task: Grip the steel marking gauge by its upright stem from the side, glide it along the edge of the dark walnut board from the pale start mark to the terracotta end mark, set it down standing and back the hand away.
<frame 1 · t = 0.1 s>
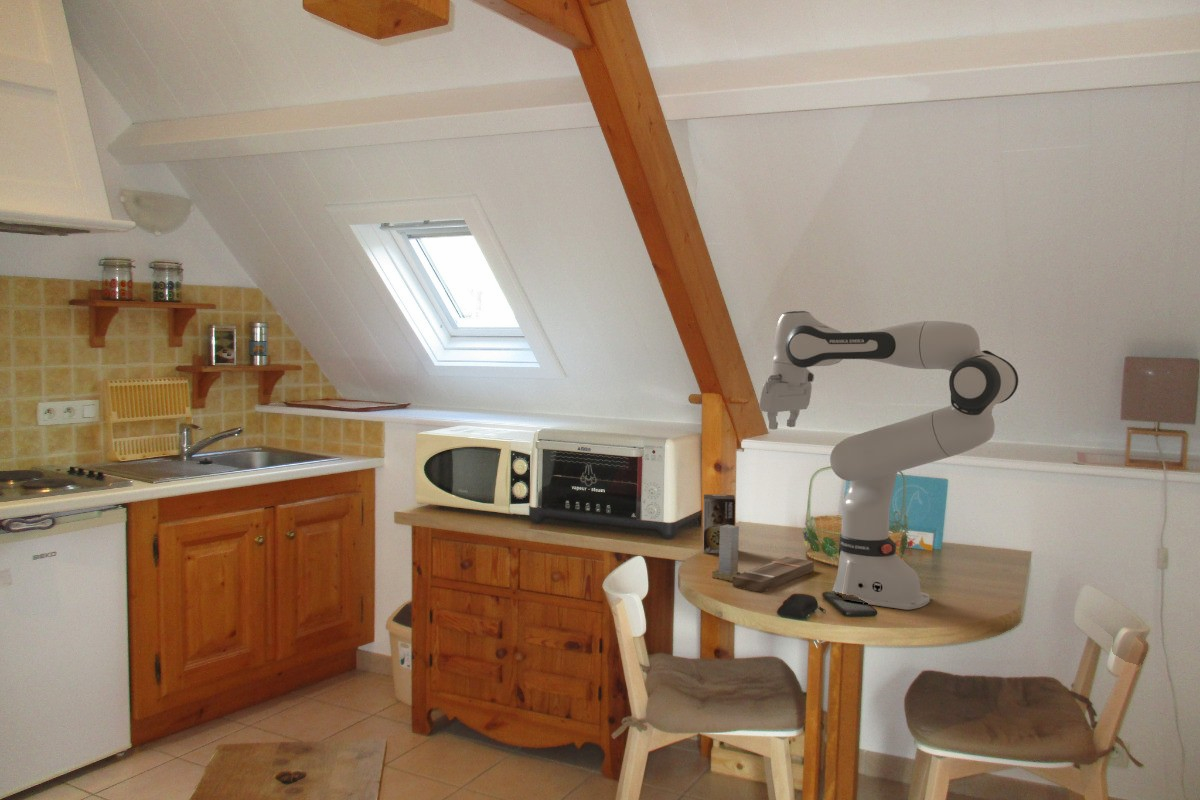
hand: (781, 427, 239), 39 cm above the table, tool pointing down, fingers open, 8 cm apart
coffee box: (718, 552, 269), on the table
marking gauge: (728, 578, 239), on the table
walnut board: (774, 578, 240), on the table
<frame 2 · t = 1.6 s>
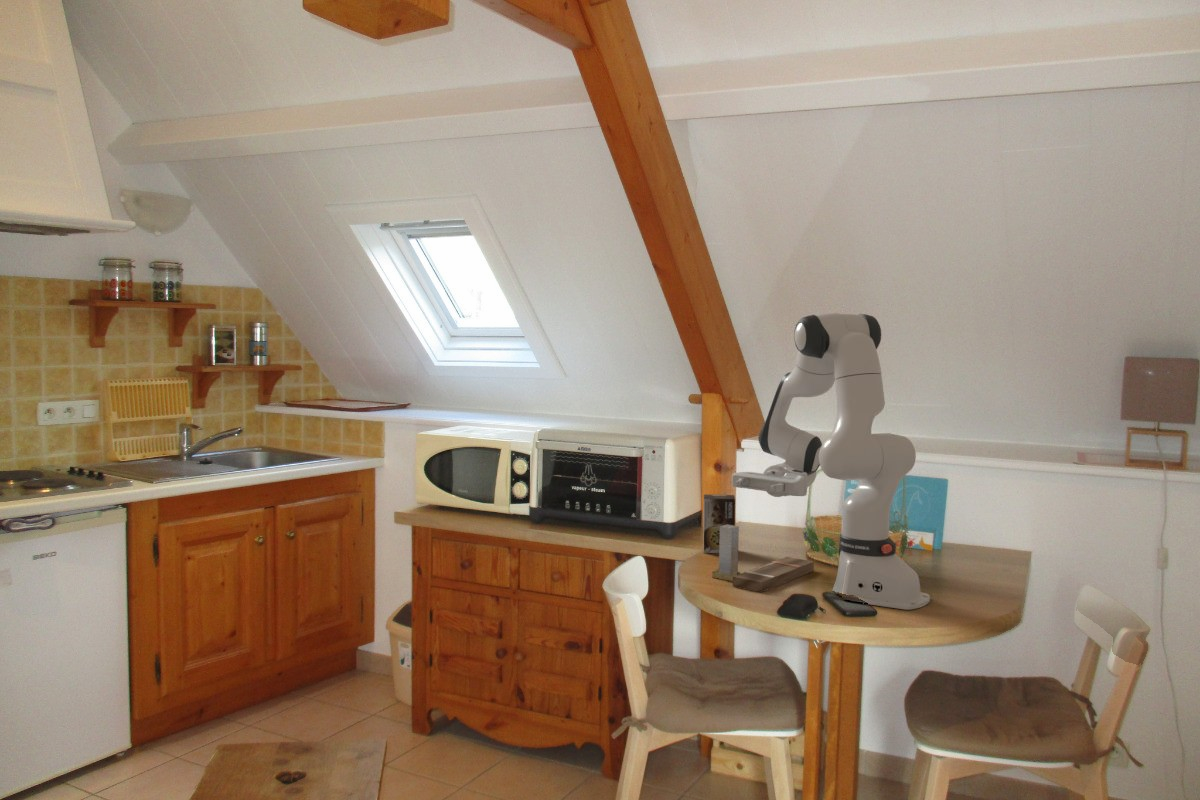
hand: (753, 486, 247), 22 cm above the table, tool horizontal, fingers open, 8 cm apart
nothing on the table moved.
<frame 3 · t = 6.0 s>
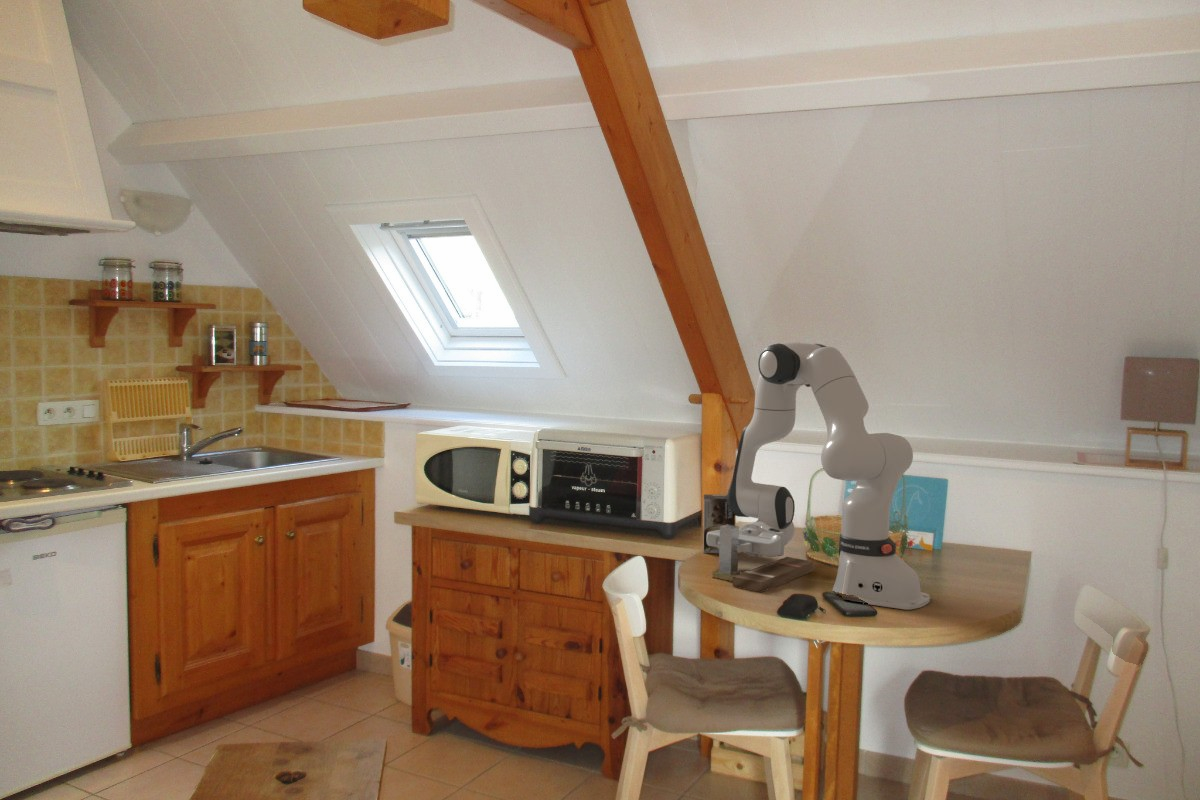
hand: (728, 547, 238), 8 cm above the table, tool horizontal, fingers closed on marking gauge, 3 cm apart
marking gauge: (728, 578, 239), on the table, touching gripper
everything else where it was.
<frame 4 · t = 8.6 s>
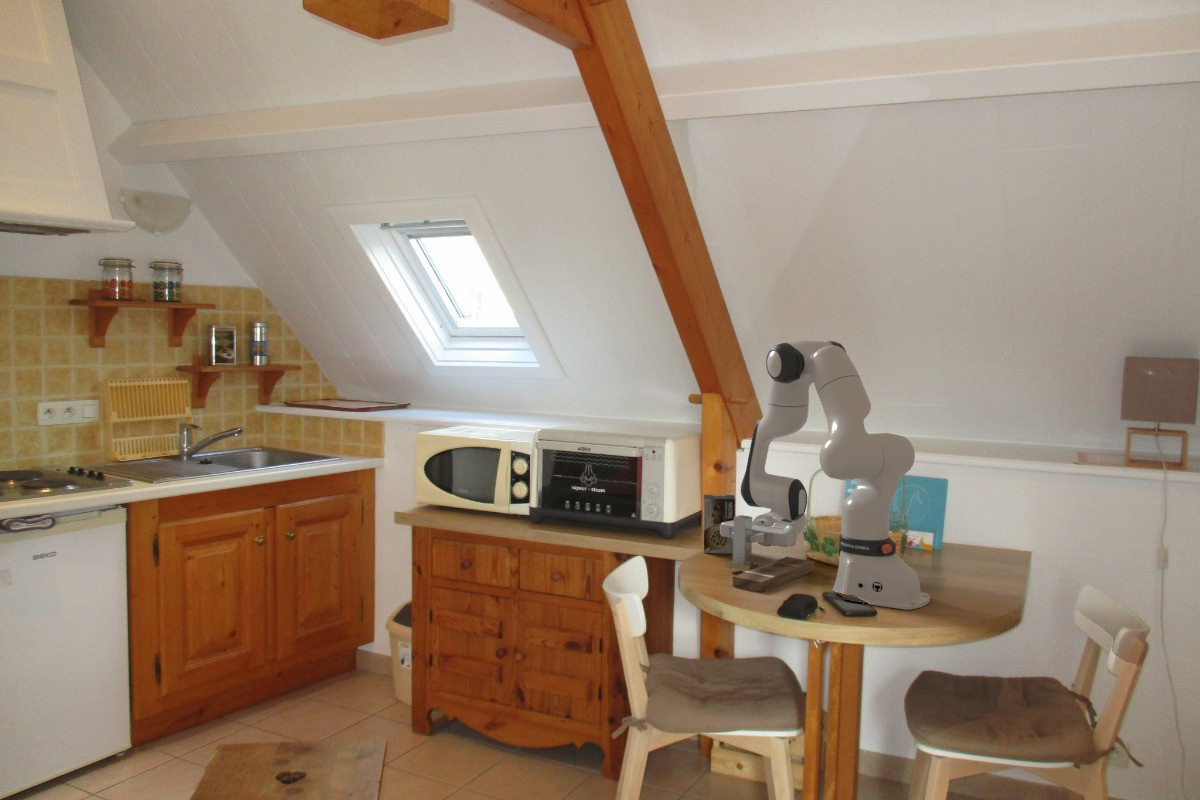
hand: (741, 537, 244), 9 cm above the table, tool horizontal, fingers closed on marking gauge, 3 cm apart
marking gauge: (741, 567, 245), point 1 cm above the table, touching gripper
everything else where it was.
when the fingers open (9 cm above the table, at t = 10.9 s): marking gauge stays where it is, on the table.
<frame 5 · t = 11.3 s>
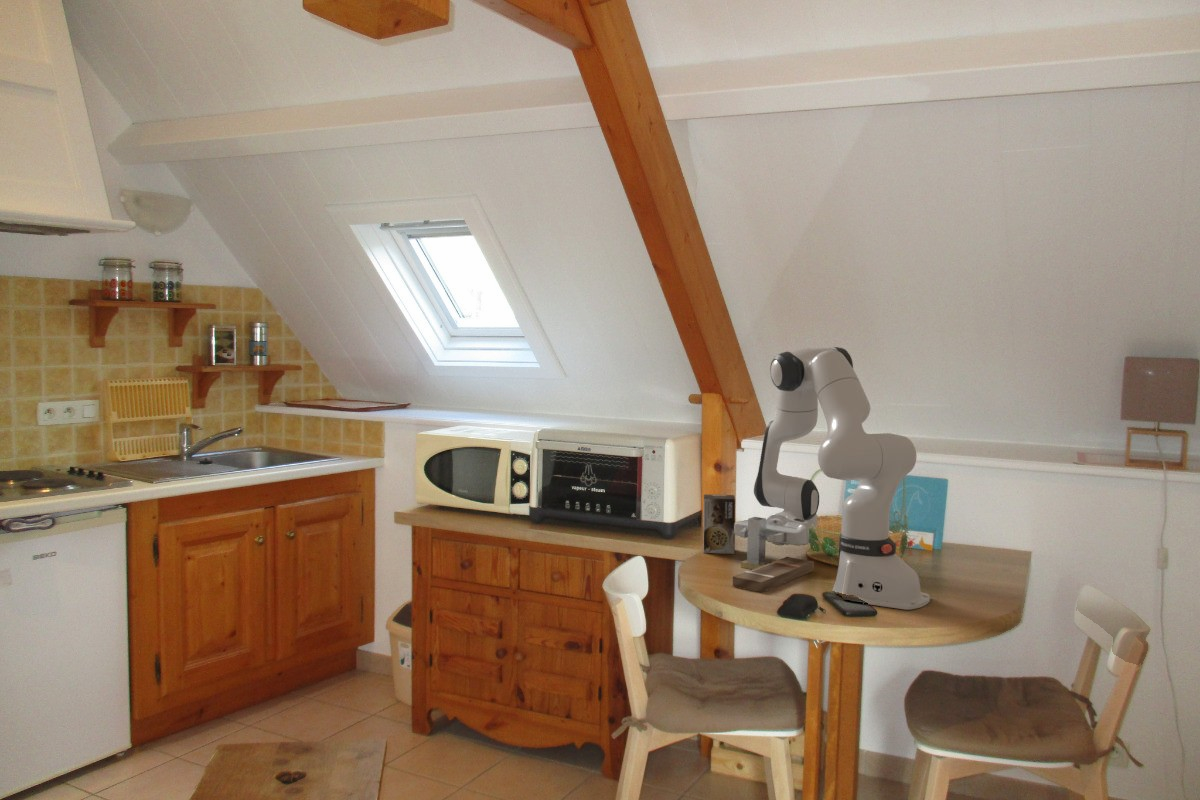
hand: (755, 536, 249), 9 cm above the table, tool horizontal, fingers open, 7 cm apart
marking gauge: (755, 568, 250), on the table
everything else where it was.
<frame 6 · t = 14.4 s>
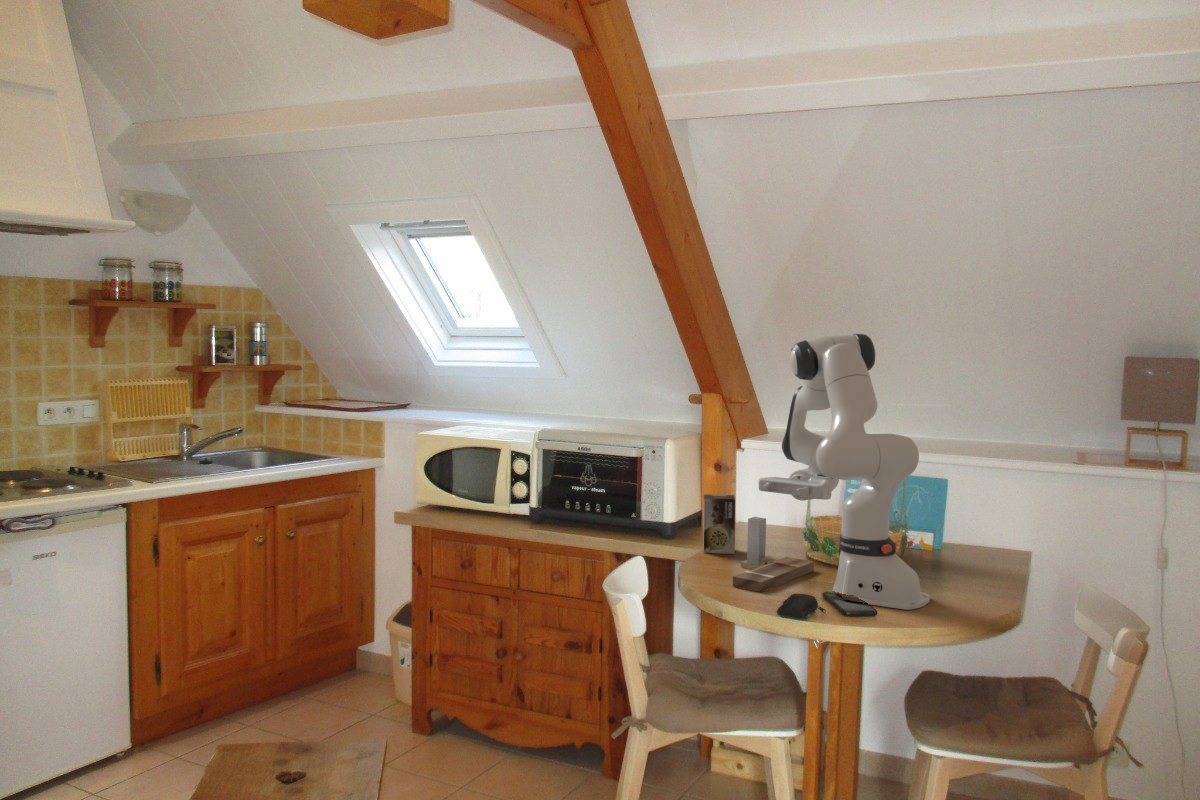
hand: (780, 490, 258), 20 cm above the table, tool horizontal, fingers open, 8 cm apart
nothing on the table moved.
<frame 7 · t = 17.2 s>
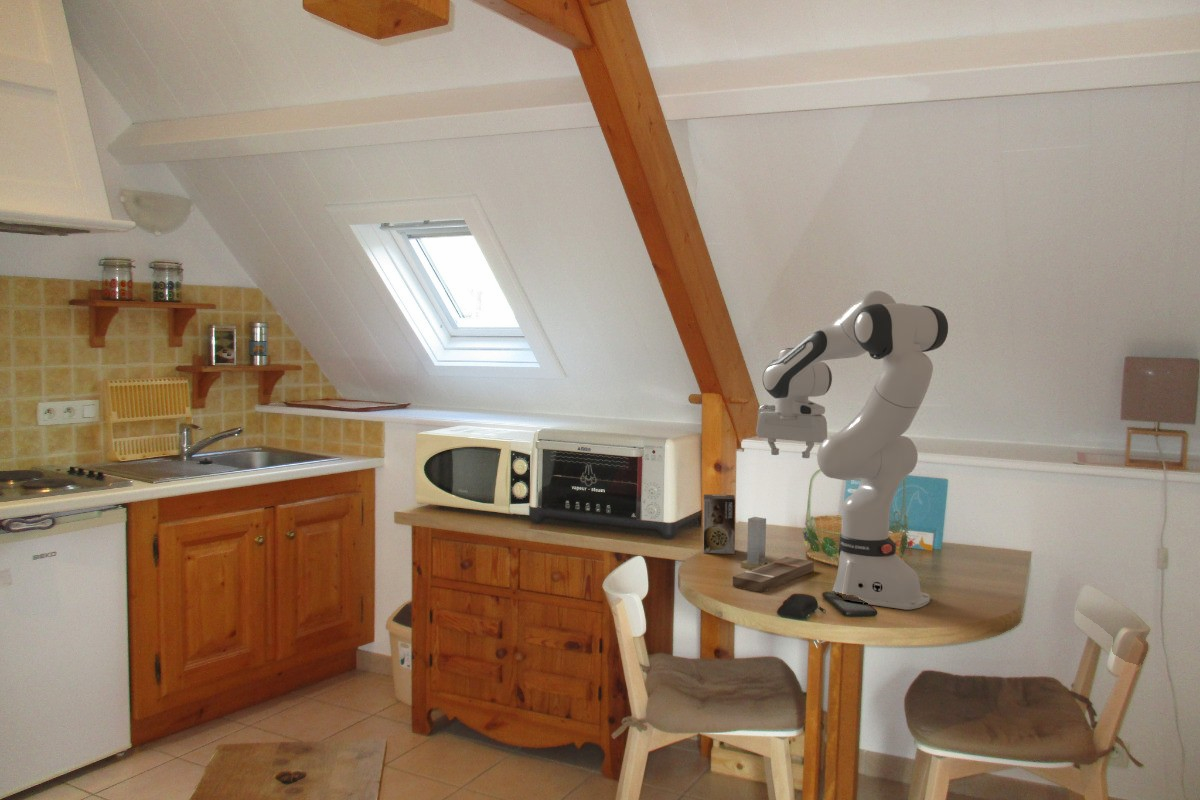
hand: (790, 456, 258), 29 cm above the table, tool pointing down, fingers open, 8 cm apart
nothing on the table moved.
at the end: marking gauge 0.8 cm from the target spot, on the table; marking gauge tilted 0°; the gripper is holding nothing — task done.
